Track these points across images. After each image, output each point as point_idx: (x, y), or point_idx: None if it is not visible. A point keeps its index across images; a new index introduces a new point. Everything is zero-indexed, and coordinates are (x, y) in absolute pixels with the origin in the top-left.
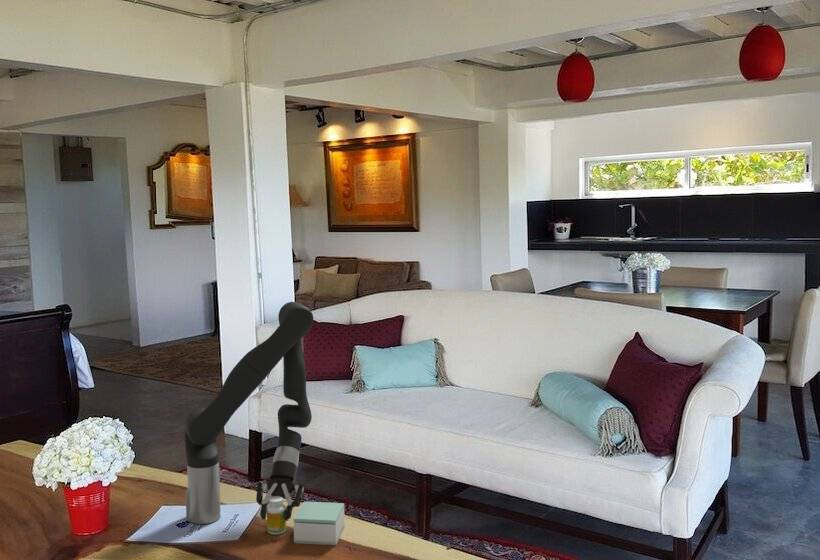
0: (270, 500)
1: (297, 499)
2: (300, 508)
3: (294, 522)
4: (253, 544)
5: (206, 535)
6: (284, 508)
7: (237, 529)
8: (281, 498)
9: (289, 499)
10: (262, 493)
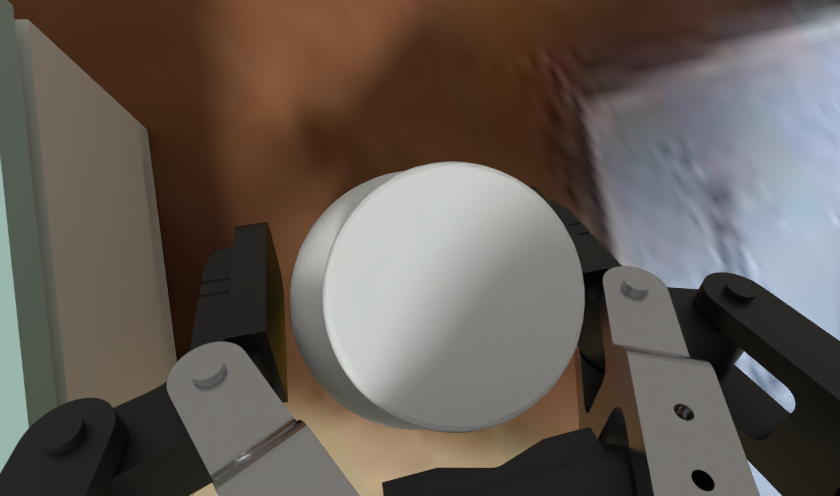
0: (526, 195)
1: (23, 493)
2: (10, 369)
3: (19, 31)
4: (448, 56)
5: (778, 114)
6: (293, 300)
7: (660, 239)
8: (368, 350)
9: (223, 440)
10: (801, 484)
